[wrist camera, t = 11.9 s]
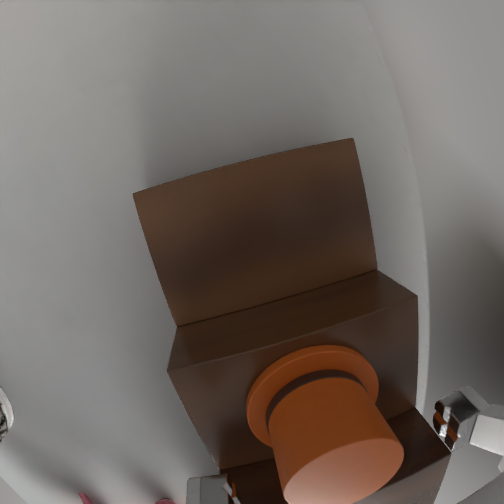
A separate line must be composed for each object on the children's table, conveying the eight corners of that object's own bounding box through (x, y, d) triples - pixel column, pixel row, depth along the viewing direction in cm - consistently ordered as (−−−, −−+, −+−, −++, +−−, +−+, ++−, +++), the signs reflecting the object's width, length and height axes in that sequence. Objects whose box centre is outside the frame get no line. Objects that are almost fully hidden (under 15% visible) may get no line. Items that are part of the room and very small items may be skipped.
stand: (145, 190, 17) (47, 214, 6) (333, 142, 17) (462, 114, 7) (243, 452, 22) (259, 567, 11) (371, 413, 23) (431, 510, 12)
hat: (277, 328, 12) (310, 410, 7) (395, 357, 13) (452, 420, 8) (227, 434, 13) (234, 517, 8) (336, 448, 14) (366, 516, 9)
